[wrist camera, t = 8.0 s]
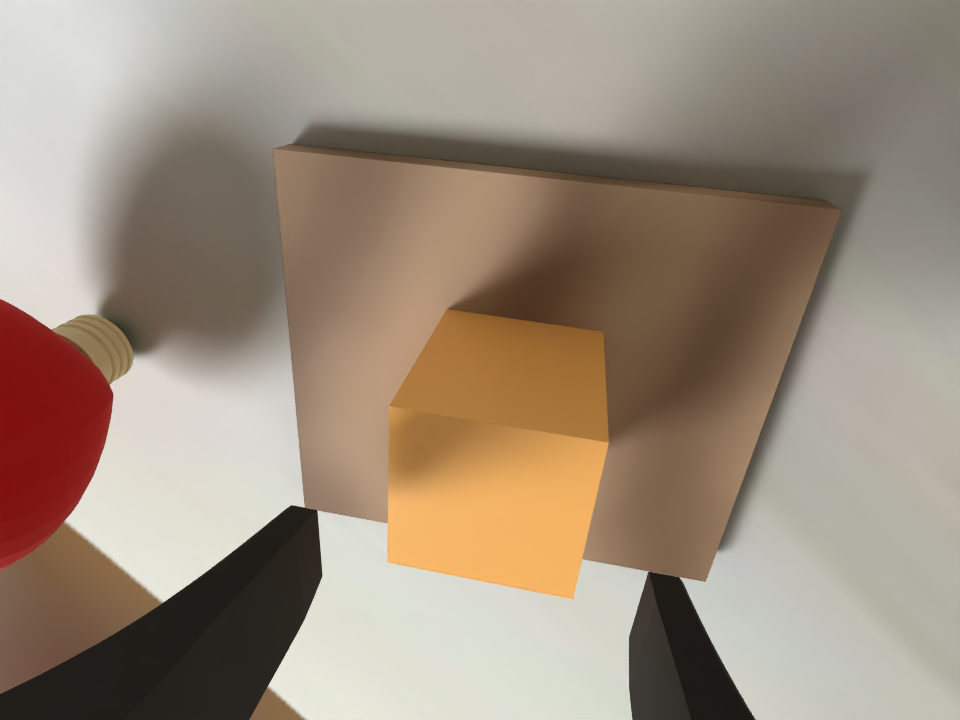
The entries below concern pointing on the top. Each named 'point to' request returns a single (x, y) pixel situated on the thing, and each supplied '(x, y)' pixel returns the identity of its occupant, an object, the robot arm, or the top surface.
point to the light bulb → (51, 419)
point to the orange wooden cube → (498, 452)
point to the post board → (548, 321)
